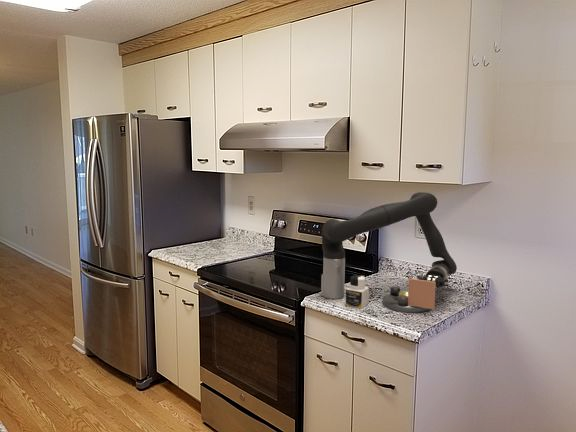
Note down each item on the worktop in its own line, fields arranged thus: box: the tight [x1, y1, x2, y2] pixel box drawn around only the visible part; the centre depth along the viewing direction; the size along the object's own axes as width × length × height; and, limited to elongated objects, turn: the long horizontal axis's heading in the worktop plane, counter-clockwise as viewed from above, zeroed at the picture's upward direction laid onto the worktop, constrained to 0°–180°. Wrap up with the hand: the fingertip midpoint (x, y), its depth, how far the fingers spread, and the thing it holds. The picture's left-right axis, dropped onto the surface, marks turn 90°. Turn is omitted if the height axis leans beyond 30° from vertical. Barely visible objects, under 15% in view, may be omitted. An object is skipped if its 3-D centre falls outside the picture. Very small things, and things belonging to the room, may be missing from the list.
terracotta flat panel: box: [398, 278, 436, 310], centre depth 180 cm, size 14×4×11 cm, turn 61°
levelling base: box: [381, 286, 433, 314], centre depth 189 cm, size 20×20×5 cm
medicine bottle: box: [345, 274, 370, 309], centre depth 189 cm, size 7×7×12 cm
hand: (428, 286), depth 179 cm, fingers closed
